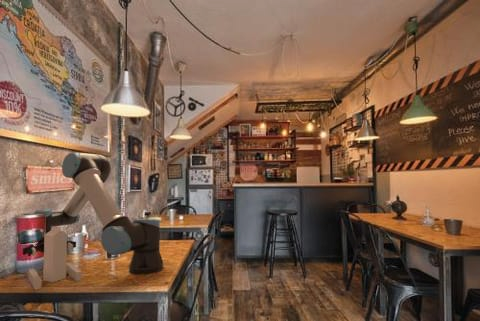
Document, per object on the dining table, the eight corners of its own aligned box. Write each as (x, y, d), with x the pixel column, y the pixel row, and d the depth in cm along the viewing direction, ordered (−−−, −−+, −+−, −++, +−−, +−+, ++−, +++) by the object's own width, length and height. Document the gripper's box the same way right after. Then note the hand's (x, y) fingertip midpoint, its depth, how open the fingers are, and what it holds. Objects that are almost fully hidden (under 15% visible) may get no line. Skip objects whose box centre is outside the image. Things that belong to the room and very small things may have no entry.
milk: (52, 282, 120) (53, 228, 122) (42, 280, 123) (44, 227, 124) (66, 278, 126) (67, 225, 127) (57, 276, 128) (58, 225, 130)
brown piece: (28, 277, 127) (28, 269, 127) (69, 269, 138) (70, 262, 138) (35, 289, 112) (35, 280, 112) (81, 280, 123) (81, 271, 123)
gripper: (74, 247, 149) (85, 254, 134) (12, 256, 133) (17, 265, 117) (74, 232, 150) (86, 237, 134) (13, 239, 133) (17, 246, 118)
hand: (54, 250), depth 125 cm, fingers open, 13 cm apart
